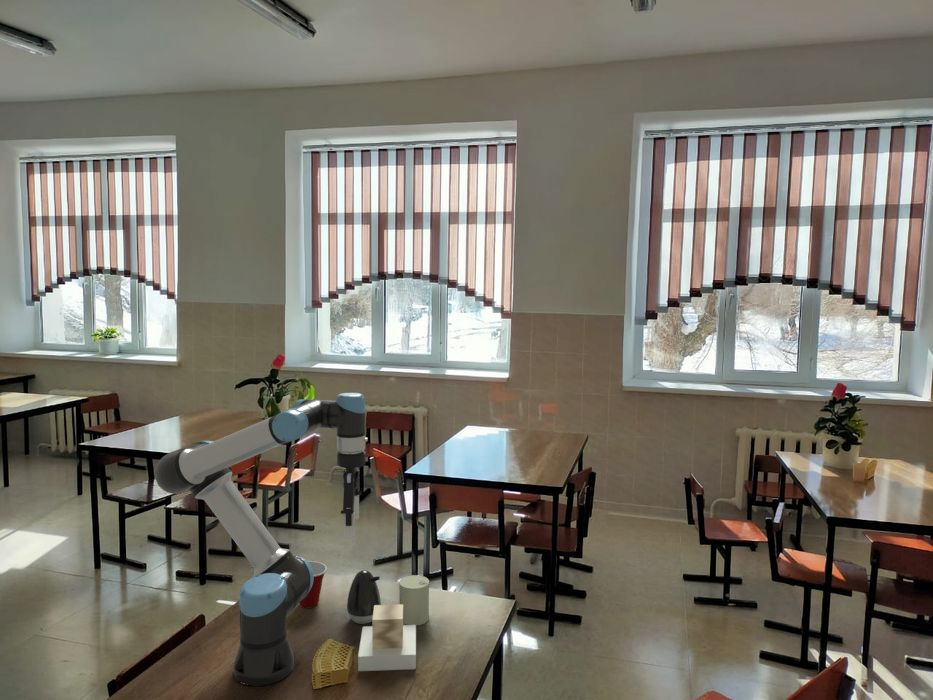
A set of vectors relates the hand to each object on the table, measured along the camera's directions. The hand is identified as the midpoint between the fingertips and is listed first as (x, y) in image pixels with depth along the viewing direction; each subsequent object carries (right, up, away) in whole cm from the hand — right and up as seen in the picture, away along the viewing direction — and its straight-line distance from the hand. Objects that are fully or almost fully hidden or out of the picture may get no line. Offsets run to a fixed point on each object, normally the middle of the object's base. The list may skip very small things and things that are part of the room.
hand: (351, 527), depth 173 cm
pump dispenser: (0, -33, +19) cm, 38 cm away
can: (+15, -33, +20) cm, 42 cm away
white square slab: (+10, -35, +1) cm, 36 cm away
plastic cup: (-18, -32, +29) cm, 47 cm away
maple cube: (+10, -31, +1) cm, 32 cm away
